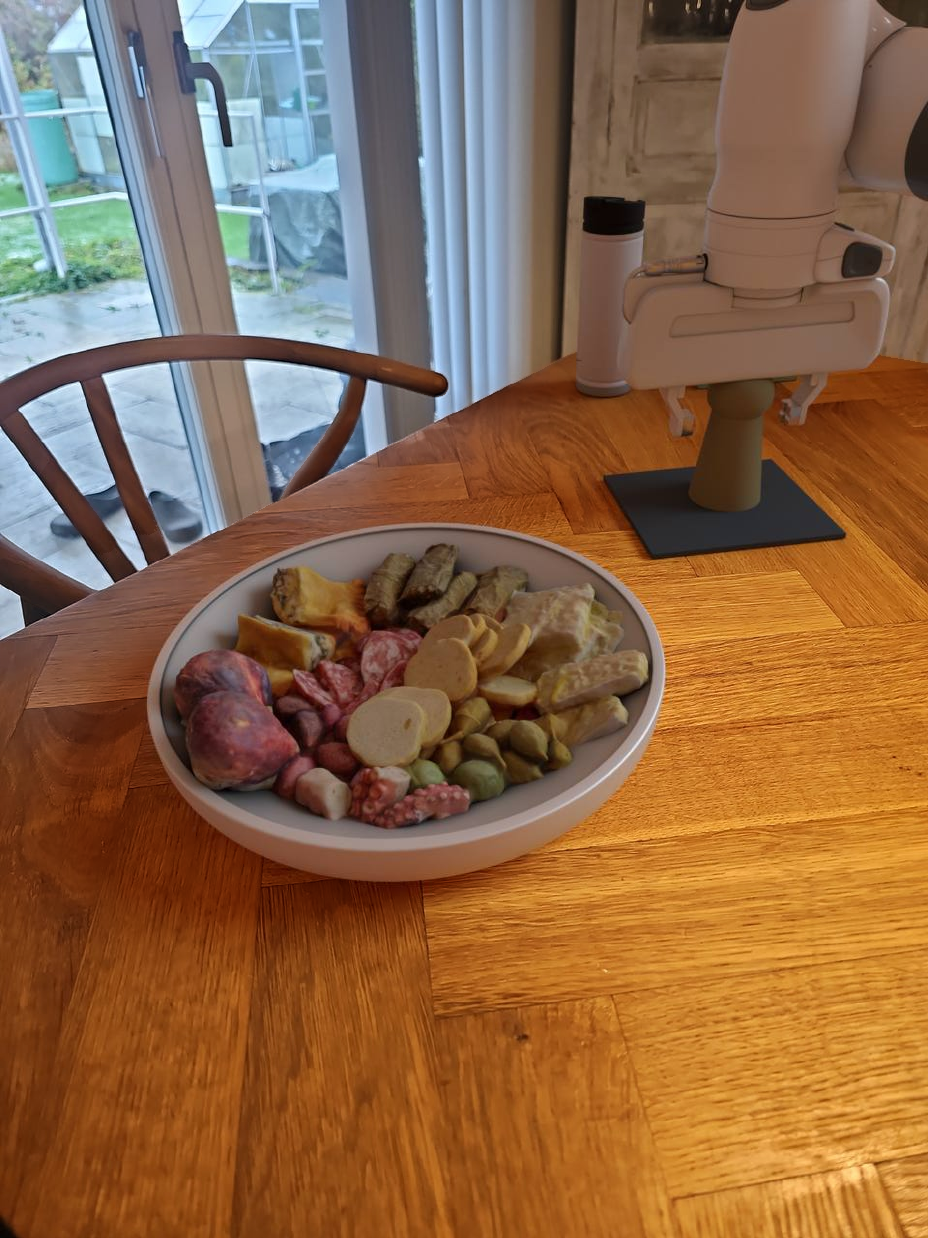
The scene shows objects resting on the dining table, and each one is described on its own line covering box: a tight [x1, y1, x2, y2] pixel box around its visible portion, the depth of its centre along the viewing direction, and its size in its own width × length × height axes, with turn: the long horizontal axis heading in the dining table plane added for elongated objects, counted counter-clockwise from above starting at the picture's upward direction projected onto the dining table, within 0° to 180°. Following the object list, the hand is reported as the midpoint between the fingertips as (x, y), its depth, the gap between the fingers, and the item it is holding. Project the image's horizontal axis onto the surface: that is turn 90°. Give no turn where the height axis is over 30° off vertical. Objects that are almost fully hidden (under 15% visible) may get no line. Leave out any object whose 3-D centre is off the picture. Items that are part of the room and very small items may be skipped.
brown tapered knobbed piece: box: [688, 378, 776, 512], centre depth 70 cm, size 6×6×11 cm
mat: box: [603, 458, 847, 560], centre depth 73 cm, size 16×14×1 cm
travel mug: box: [575, 195, 646, 398], centre depth 90 cm, size 6×7×20 cm
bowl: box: [146, 522, 666, 883], centre depth 51 cm, size 30×30×8 cm
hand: (735, 428), depth 70 cm, fingers open, 8 cm apart
